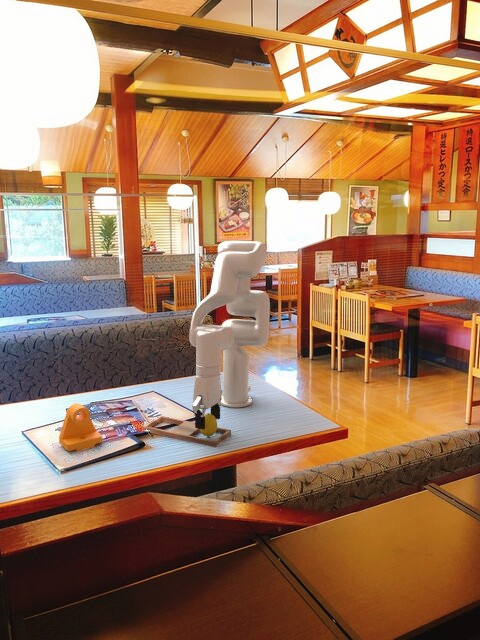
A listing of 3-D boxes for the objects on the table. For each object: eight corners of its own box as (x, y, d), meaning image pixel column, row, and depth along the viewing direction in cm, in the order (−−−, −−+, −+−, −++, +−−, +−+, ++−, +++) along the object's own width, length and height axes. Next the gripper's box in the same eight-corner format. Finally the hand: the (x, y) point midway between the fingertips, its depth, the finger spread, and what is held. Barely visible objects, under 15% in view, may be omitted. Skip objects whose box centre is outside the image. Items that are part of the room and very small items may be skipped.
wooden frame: (161, 420, 174) (160, 415, 174) (231, 434, 163) (231, 430, 162) (142, 431, 164) (142, 426, 164) (215, 447, 153) (215, 442, 153)
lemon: (214, 441, 157) (214, 417, 156) (197, 440, 158) (197, 415, 157) (219, 434, 162) (219, 410, 161) (202, 433, 163) (202, 409, 162)
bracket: (68, 453, 148) (66, 414, 146) (59, 445, 153) (57, 407, 151) (103, 444, 154) (101, 406, 152) (93, 436, 160) (92, 400, 158)
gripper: (211, 362, 165) (210, 413, 168) (183, 375, 150) (182, 430, 153) (231, 365, 162) (230, 416, 165) (205, 378, 147) (204, 435, 149)
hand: (207, 423), depth 159 cm, fingers open, 9 cm apart
